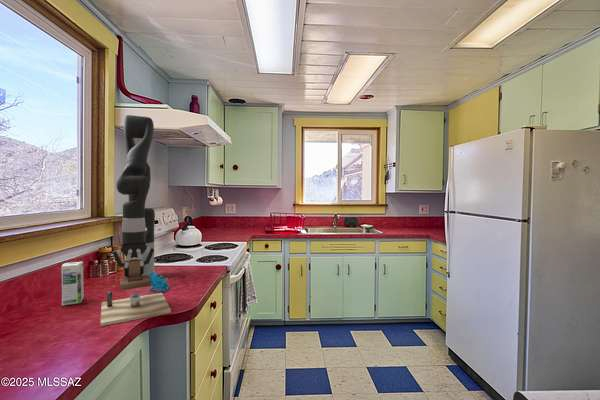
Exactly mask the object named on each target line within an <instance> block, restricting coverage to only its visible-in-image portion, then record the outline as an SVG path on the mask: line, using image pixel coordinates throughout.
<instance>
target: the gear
mask: <svg viewBox="0 0 600 400" xmlns="http://www.w3.org/2000/svg"><path fill="white" fill-rule="evenodd" d="M151 276H152V277H151ZM149 277H150V279H151V286H150V287H149V289H148V291H149V292H152V291H155V290H156V289H157V290H156V292H157V293H166V292H167V291H168V290H169V287H168V286H169V285H170V284H169V283H167V282H168V281H169V278H167V277H166V278H164V276H163V275H162V274H161V275H159V273H158V272H154V273H152V272H151V273H150V274H149Z"/></svg>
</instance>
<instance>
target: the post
mask: <svg viewBox="0 0 600 400" xmlns="http://www.w3.org/2000/svg"><path fill="white" fill-rule="evenodd" d="M140 296H141V293H137V292H136V293H132V294H130V296H129V298H130V307H131V308H135V307H139V306H140Z"/></svg>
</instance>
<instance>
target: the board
mask: <svg viewBox="0 0 600 400" xmlns="http://www.w3.org/2000/svg"><path fill="white" fill-rule="evenodd" d="M170 307H171V306H170V305H169V304H168V302H167V300H166V298H165V296H164V293H163V292H160V293H159V292H157V293H151V294H147V295H140V306H139V307H135V308H131V307H130V297H127V298H120V299H115V300H112V306H111V307H107V301H103V302H101V308H100V309H101V310H100V327H104V326H109V325H115V324H120V323H125V322H131V321H135V320H140V319H146V318H151V317H156V316H161V315H165V314H167V315H168V314H171V313H172V309H171V308H170Z"/></svg>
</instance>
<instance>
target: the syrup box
mask: <svg viewBox="0 0 600 400" xmlns="http://www.w3.org/2000/svg"><path fill="white" fill-rule="evenodd" d="M83 300H84V261H78V262H77V261H75V262H74V261H73V262H65V263H63V264H62V265H61V306H68V305H75V304H82V301H83Z"/></svg>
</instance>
